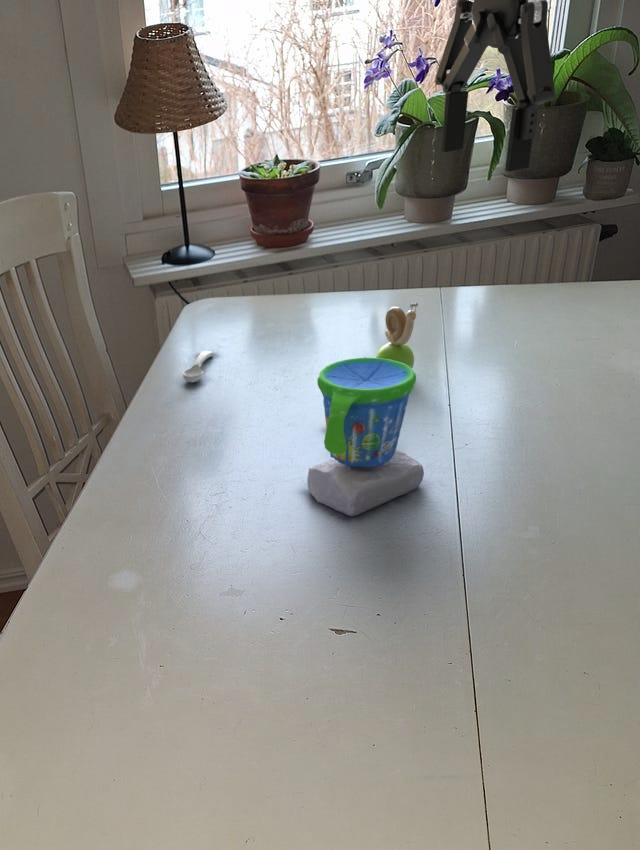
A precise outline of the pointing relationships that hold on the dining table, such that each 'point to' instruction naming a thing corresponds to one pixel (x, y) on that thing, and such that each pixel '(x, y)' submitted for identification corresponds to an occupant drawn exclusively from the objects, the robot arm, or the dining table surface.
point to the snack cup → (364, 408)
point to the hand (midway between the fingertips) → (482, 159)
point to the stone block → (363, 483)
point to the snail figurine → (399, 335)
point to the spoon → (197, 368)
